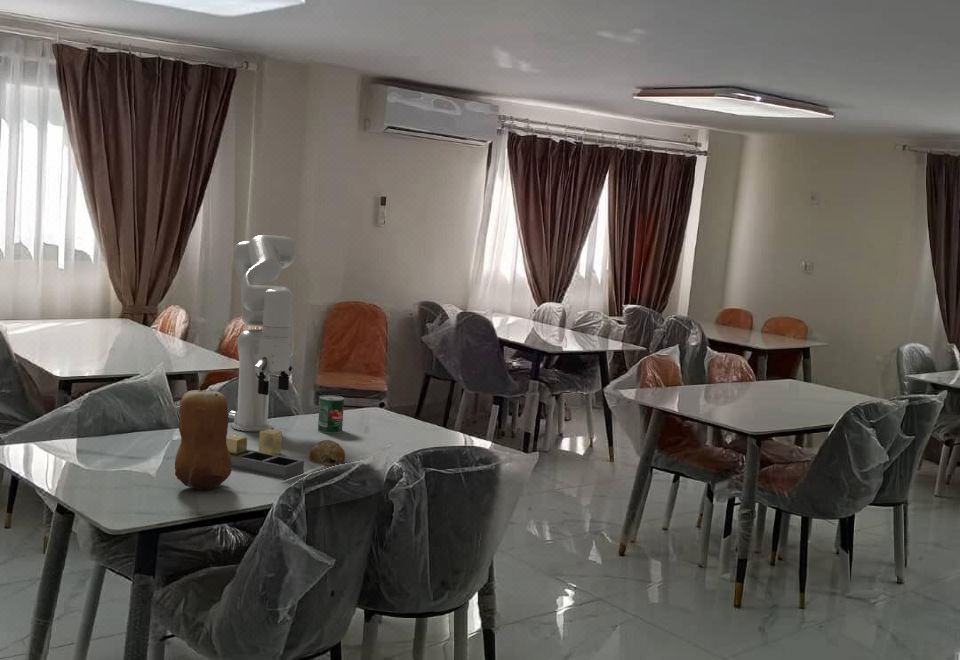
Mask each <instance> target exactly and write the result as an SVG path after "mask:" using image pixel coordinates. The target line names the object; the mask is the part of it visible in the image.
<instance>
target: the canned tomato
mask: <svg viewBox="0 0 960 660" xmlns="http://www.w3.org/2000/svg"><path fill="white" fill-rule="evenodd" d="M318 403H319V404H318V418H317V419H318V422H317V431H318V432H319V433H323V434H330V435H331V434H341V433H342V432H343V424H344V423H343V421H344V407H345V397H343V396H341V395H335V394H334V395H331V394H328V395H325V394H324V395H320V396H319V402H318Z"/></svg>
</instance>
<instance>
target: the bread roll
mask: <svg viewBox="0 0 960 660" xmlns="http://www.w3.org/2000/svg"><path fill="white" fill-rule="evenodd" d="M308 458H309V460H310V462H314V463H318V464H322V466H326V467H327V466H336V465H335V464H337V465H340V464H339V463H342V464H344V462H345V460H346V452H345V450H344V449H343V447H342V446H341V445H340V444H339V443H338V442H336V441H334V440H330V439H324V440H322V441H321V440H320V441H319V442H317V444H316V445H314V446H312V448H311V449H310V450H309V457H308Z"/></svg>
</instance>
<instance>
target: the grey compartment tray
mask: <svg viewBox="0 0 960 660" xmlns="http://www.w3.org/2000/svg"><path fill="white" fill-rule="evenodd" d="M230 456H231V461H232V465H231V468H232V469H238V470H242V471H243V470H244V471H248V472H253V473H258V474H262V475H267V476H271V477H272V476H273V477H277V478H281V479H282V478H283V481H287V480H289V479H292V478H295V477H298V476H300V475H302V474H303V475H304V472H305V471H304V469H305V466H304V465H305V460H302V459H297V458H292V457H289V456H288V457H287V456H284V455H279V454H277V455H273V454H268V453H263V452H259V450H257V451H256V450H251V449H248V448H247V452H246V453H245V454H242V455H239V456H234V455H230Z"/></svg>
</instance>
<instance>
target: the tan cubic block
mask: <svg viewBox="0 0 960 660" xmlns="http://www.w3.org/2000/svg"><path fill="white" fill-rule="evenodd" d="M258 438H259V440H258V452H263V453H268V454H273V455H280V454H282V438H283V431H281V430H278V429H272V428H271V429H267V430H264V431H259V437H258Z"/></svg>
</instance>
